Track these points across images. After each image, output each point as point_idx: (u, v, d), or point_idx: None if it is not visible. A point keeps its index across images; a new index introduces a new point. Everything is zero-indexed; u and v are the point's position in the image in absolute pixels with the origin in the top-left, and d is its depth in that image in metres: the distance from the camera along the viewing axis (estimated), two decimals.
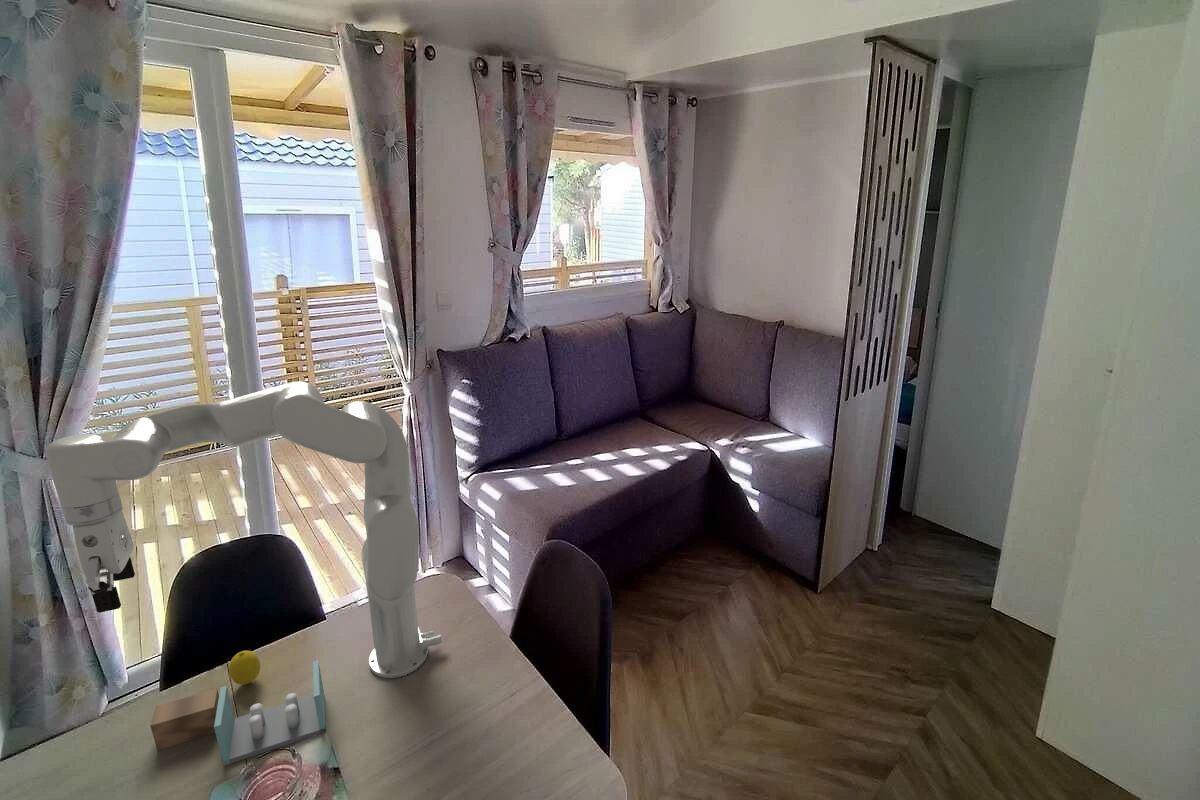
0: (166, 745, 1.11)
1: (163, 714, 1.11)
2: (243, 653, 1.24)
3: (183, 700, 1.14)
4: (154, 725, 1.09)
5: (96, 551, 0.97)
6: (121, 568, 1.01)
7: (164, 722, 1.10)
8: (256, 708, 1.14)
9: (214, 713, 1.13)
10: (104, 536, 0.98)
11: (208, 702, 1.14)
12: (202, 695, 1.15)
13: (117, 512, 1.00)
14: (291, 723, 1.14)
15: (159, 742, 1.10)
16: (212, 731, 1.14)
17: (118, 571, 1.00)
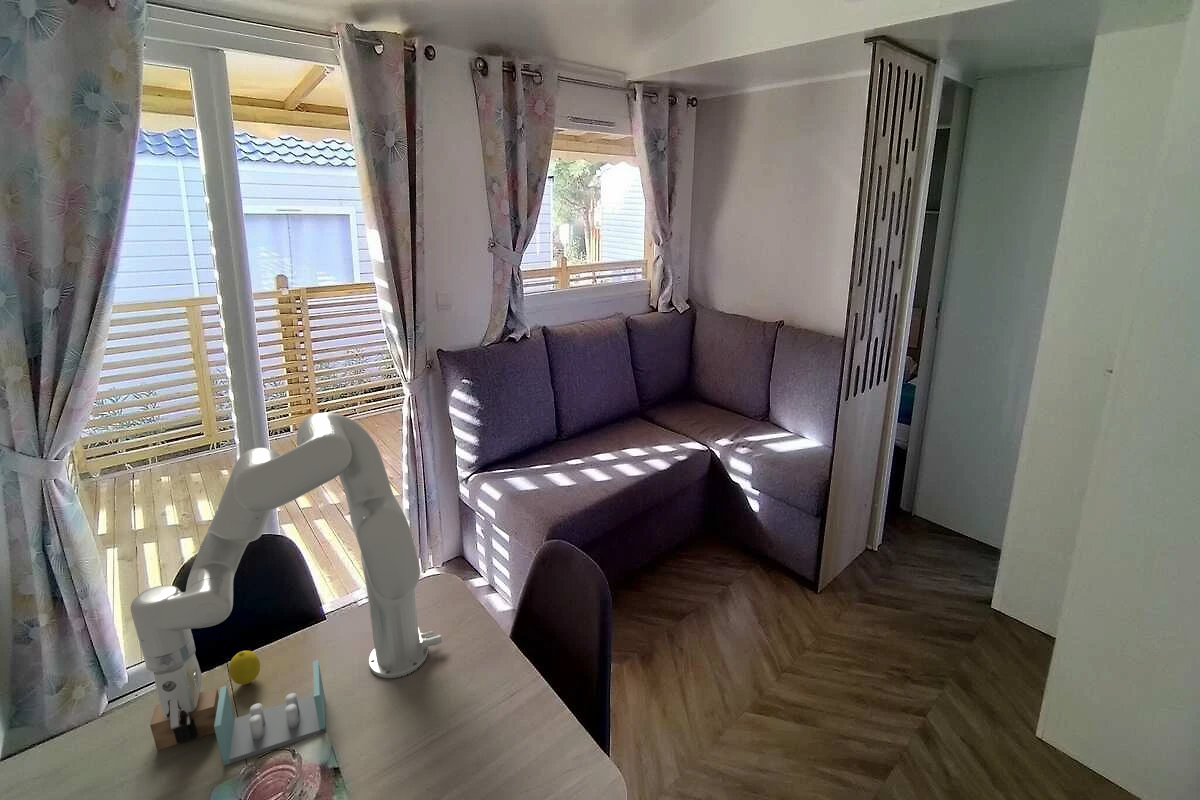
0: (166, 744, 1.11)
1: None
2: (243, 653, 1.24)
3: None
4: (154, 724, 1.09)
5: (174, 694, 1.07)
6: (195, 706, 1.10)
7: (164, 722, 1.10)
8: (256, 708, 1.14)
9: (214, 712, 1.13)
10: (181, 680, 1.07)
11: (208, 701, 1.14)
12: (202, 694, 1.15)
13: (191, 655, 1.09)
14: (291, 723, 1.14)
15: (159, 741, 1.10)
16: (212, 730, 1.14)
17: (193, 709, 1.09)
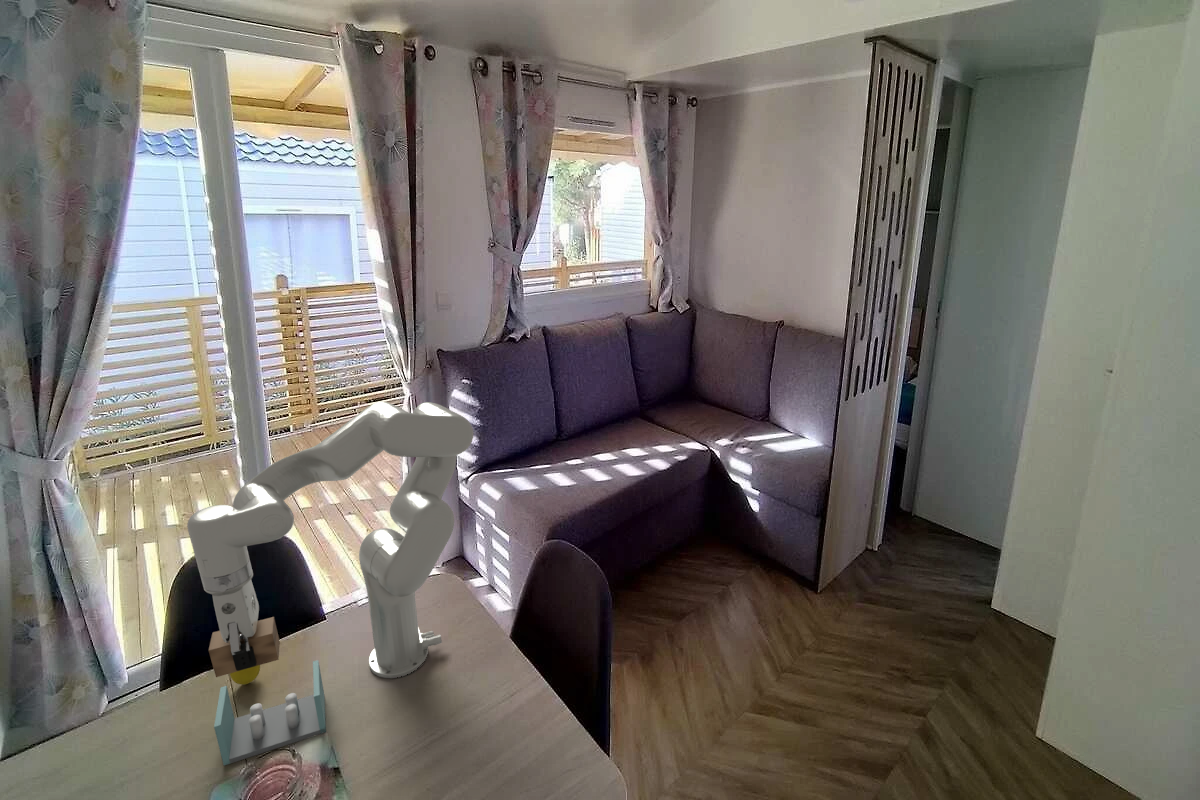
0: (224, 672, 1.07)
1: (221, 640, 1.07)
2: None
3: None
4: (212, 650, 1.05)
5: (234, 617, 1.02)
6: (254, 631, 1.05)
7: (223, 648, 1.05)
8: (256, 708, 1.14)
9: (272, 640, 1.09)
10: (241, 603, 1.02)
11: (266, 629, 1.09)
12: (259, 622, 1.11)
13: (249, 578, 1.05)
14: (291, 723, 1.14)
15: (217, 668, 1.06)
16: (270, 659, 1.10)
17: (252, 634, 1.05)
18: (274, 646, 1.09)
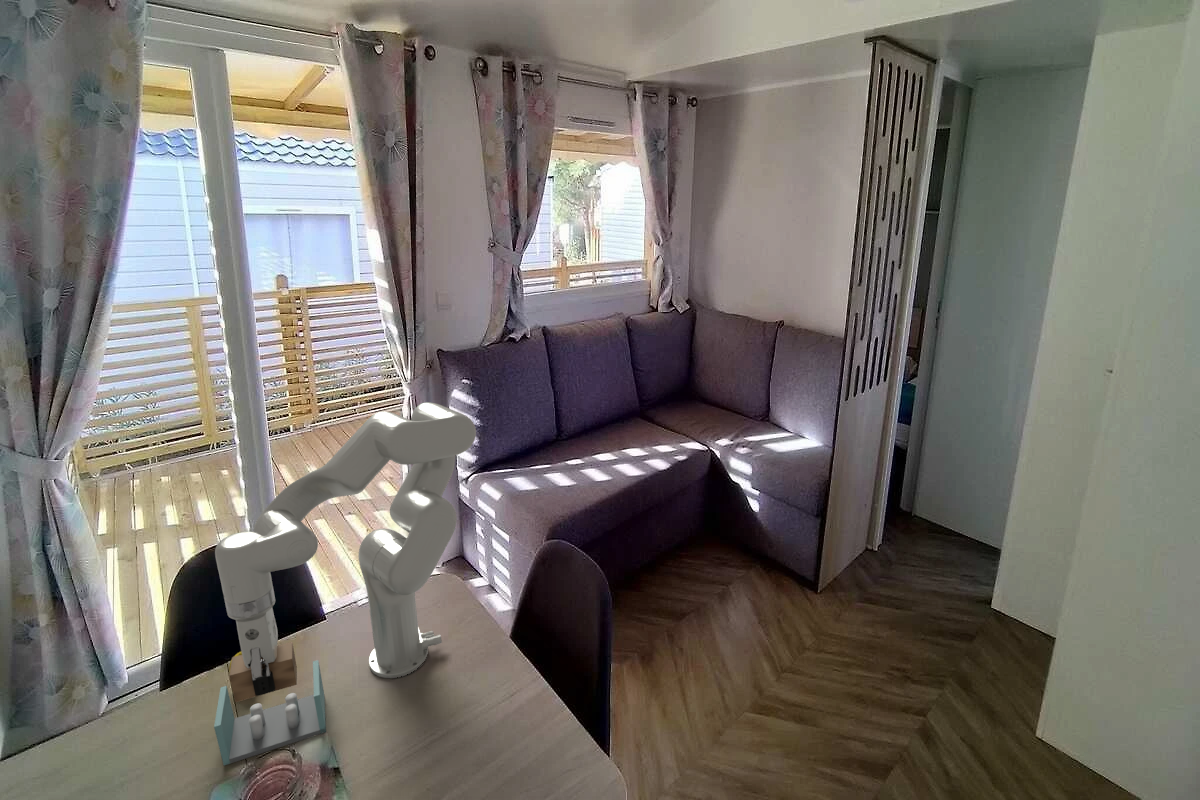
0: (244, 697, 1.08)
1: (241, 665, 1.08)
2: None
3: None
4: (233, 675, 1.06)
5: (257, 643, 1.04)
6: (275, 656, 1.07)
7: (243, 673, 1.07)
8: (256, 708, 1.14)
9: (292, 665, 1.10)
10: (264, 629, 1.04)
11: (285, 654, 1.11)
12: (278, 647, 1.13)
13: (272, 604, 1.07)
14: (291, 723, 1.14)
15: (237, 693, 1.07)
16: (289, 684, 1.11)
17: (274, 660, 1.06)
18: (293, 671, 1.11)
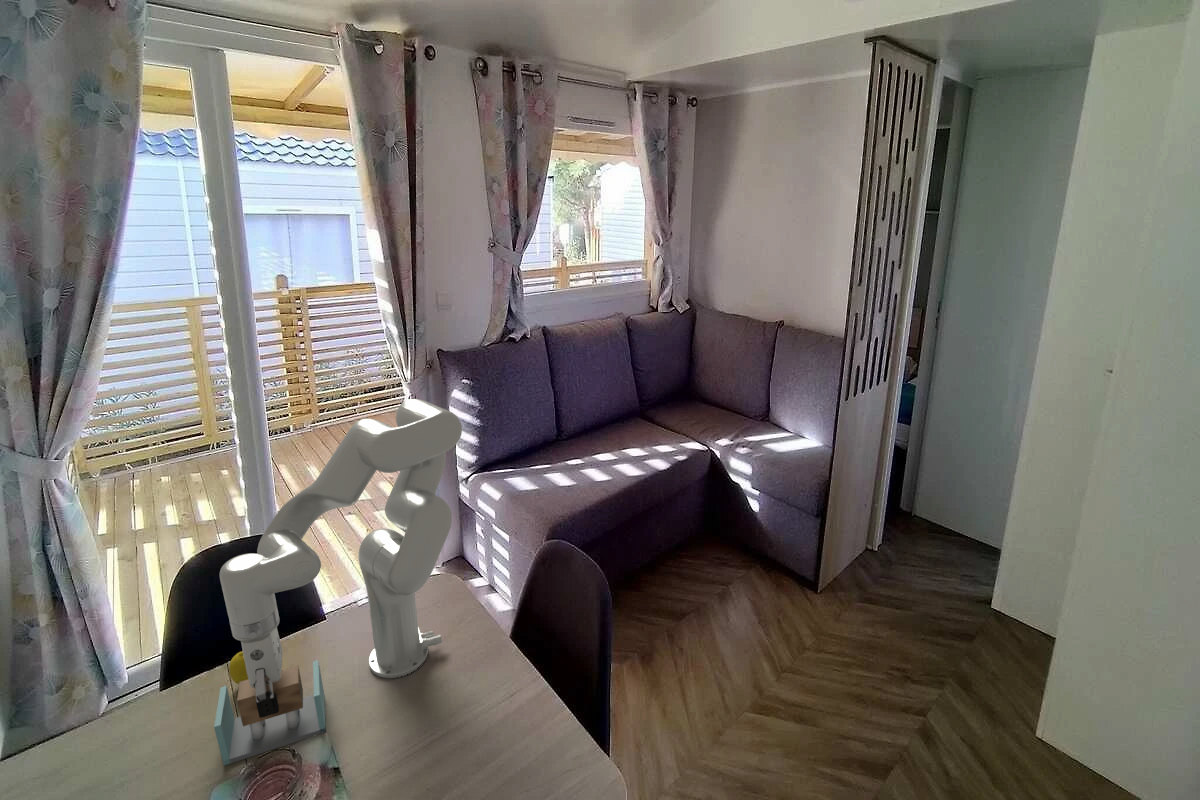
0: (251, 721, 1.10)
1: (248, 690, 1.10)
2: None
3: None
4: (241, 700, 1.08)
5: (262, 663, 1.05)
6: (280, 676, 1.08)
7: (251, 698, 1.09)
8: None
9: (298, 689, 1.12)
10: (269, 649, 1.05)
11: (291, 678, 1.13)
12: (284, 671, 1.15)
13: (277, 624, 1.08)
14: (291, 723, 1.14)
15: (245, 718, 1.09)
16: (295, 707, 1.13)
17: (278, 679, 1.08)
18: (299, 695, 1.13)
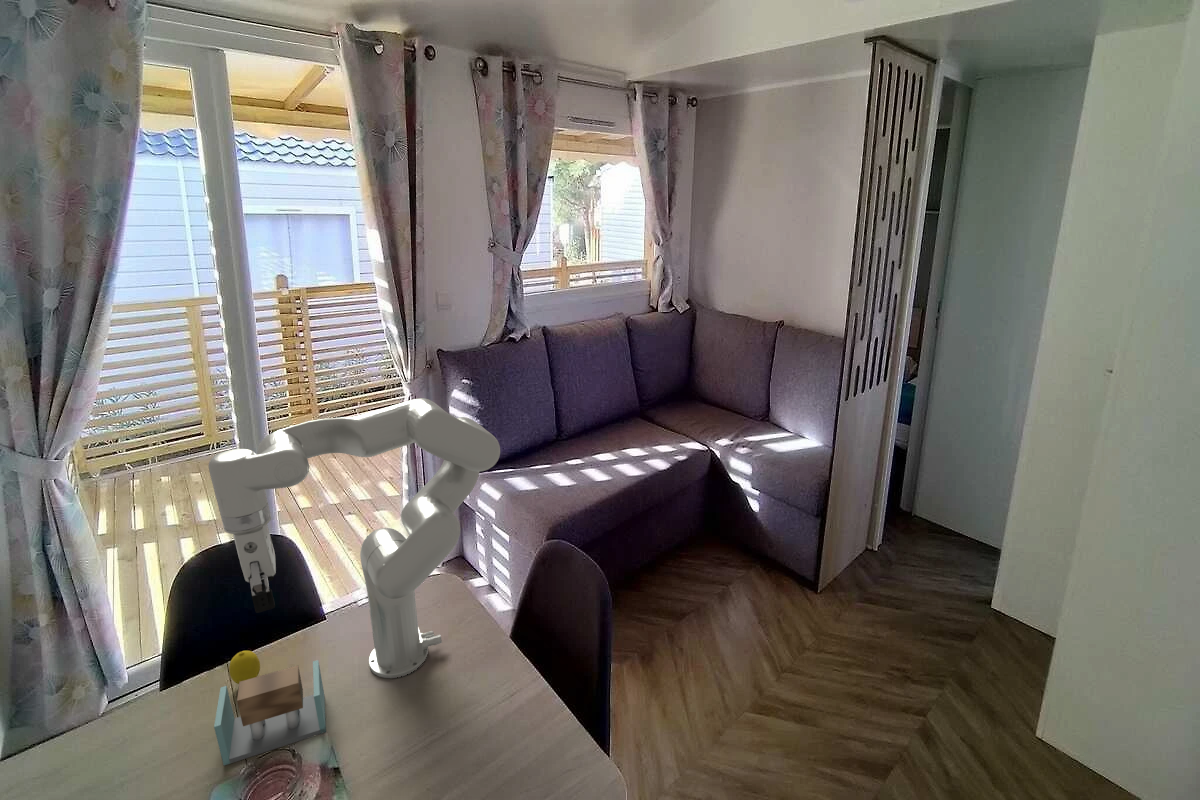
0: (251, 721, 1.10)
1: (248, 690, 1.10)
2: (243, 653, 1.24)
3: (266, 676, 1.13)
4: (241, 700, 1.08)
5: (256, 556, 1.06)
6: (275, 571, 1.09)
7: (251, 698, 1.09)
8: None
9: (298, 689, 1.12)
10: (262, 542, 1.06)
11: (291, 678, 1.13)
12: (284, 671, 1.15)
13: (269, 519, 1.08)
14: (291, 723, 1.14)
15: (245, 718, 1.09)
16: (295, 707, 1.13)
17: (273, 573, 1.08)
18: (299, 695, 1.13)
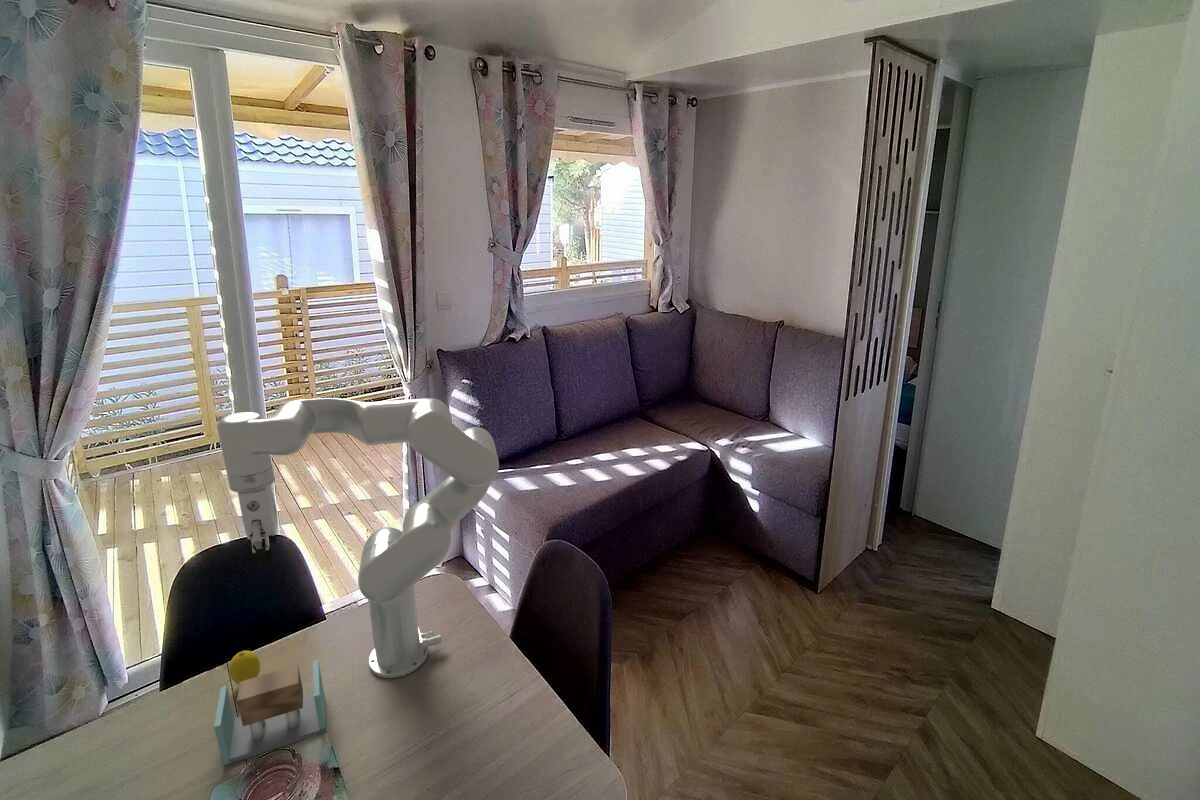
0: (251, 721, 1.10)
1: (248, 690, 1.10)
2: (243, 653, 1.24)
3: (266, 676, 1.13)
4: (241, 700, 1.08)
5: (258, 515, 1.11)
6: (275, 531, 1.14)
7: (251, 698, 1.09)
8: None
9: (298, 689, 1.12)
10: (264, 502, 1.11)
11: (291, 678, 1.13)
12: (284, 671, 1.15)
13: (272, 481, 1.13)
14: (291, 723, 1.14)
15: (245, 718, 1.09)
16: (295, 707, 1.13)
17: (274, 533, 1.13)
18: (299, 695, 1.13)
